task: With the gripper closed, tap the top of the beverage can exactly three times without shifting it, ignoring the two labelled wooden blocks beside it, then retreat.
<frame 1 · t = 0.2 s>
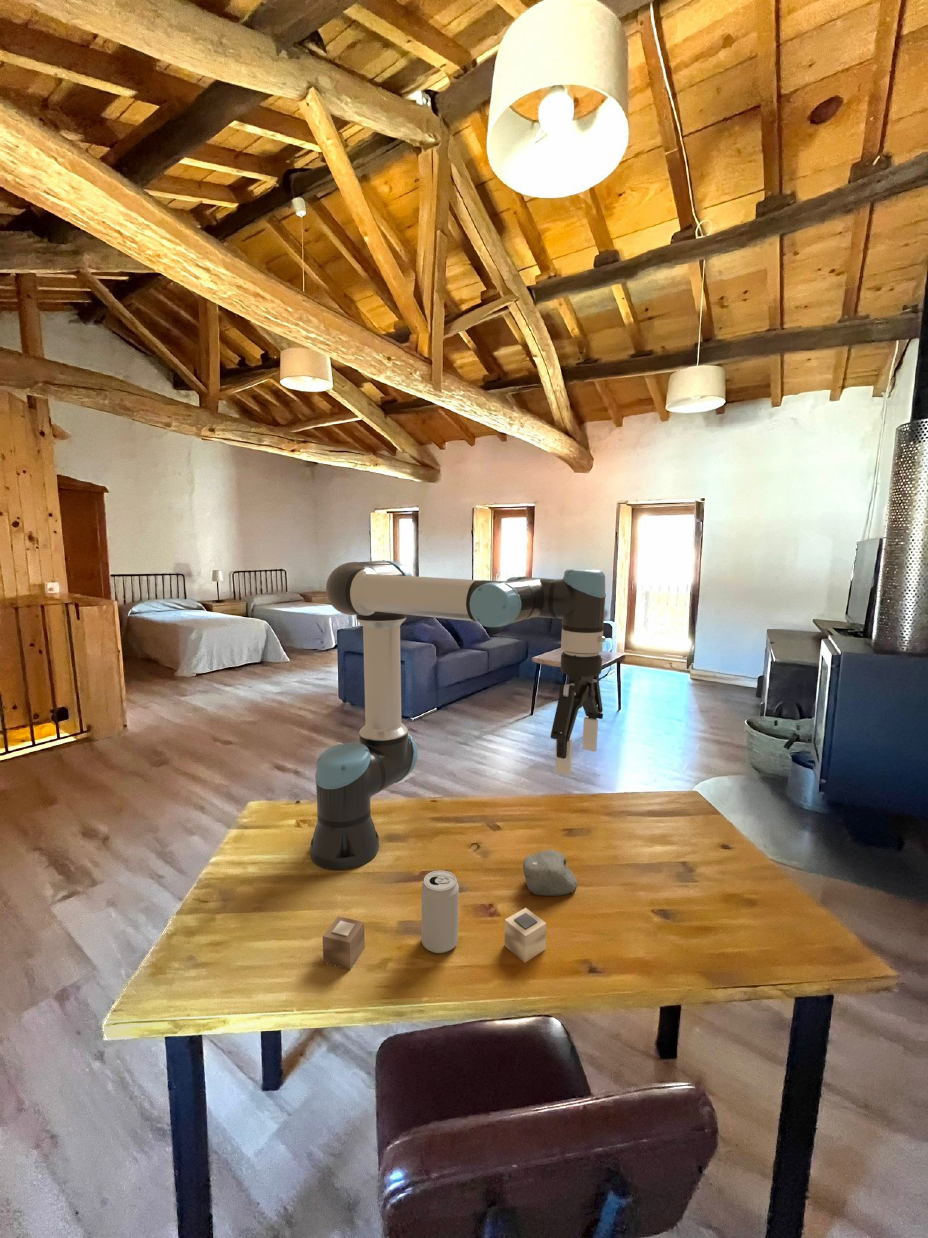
hand: (576, 761, 103), 28 cm above the table, fingers open, 13 cm apart
beverage can: (439, 944, 94), on the table
walnut block: (344, 956, 91), on the table
stone: (550, 887, 110), on the table
beech block: (524, 947, 93), on the table
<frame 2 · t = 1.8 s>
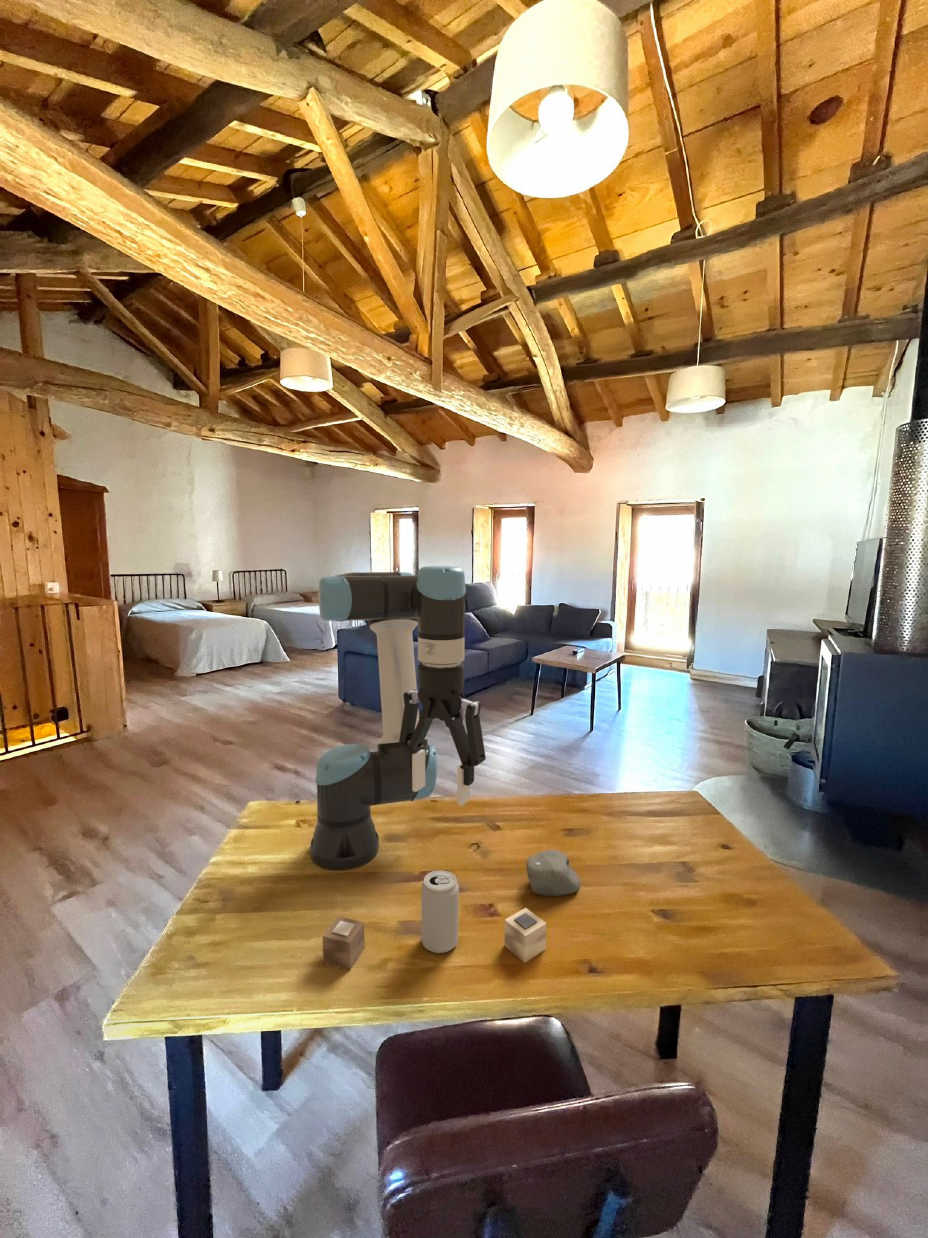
hand: (440, 795, 90), 27 cm above the table, fingers open, 8 cm apart
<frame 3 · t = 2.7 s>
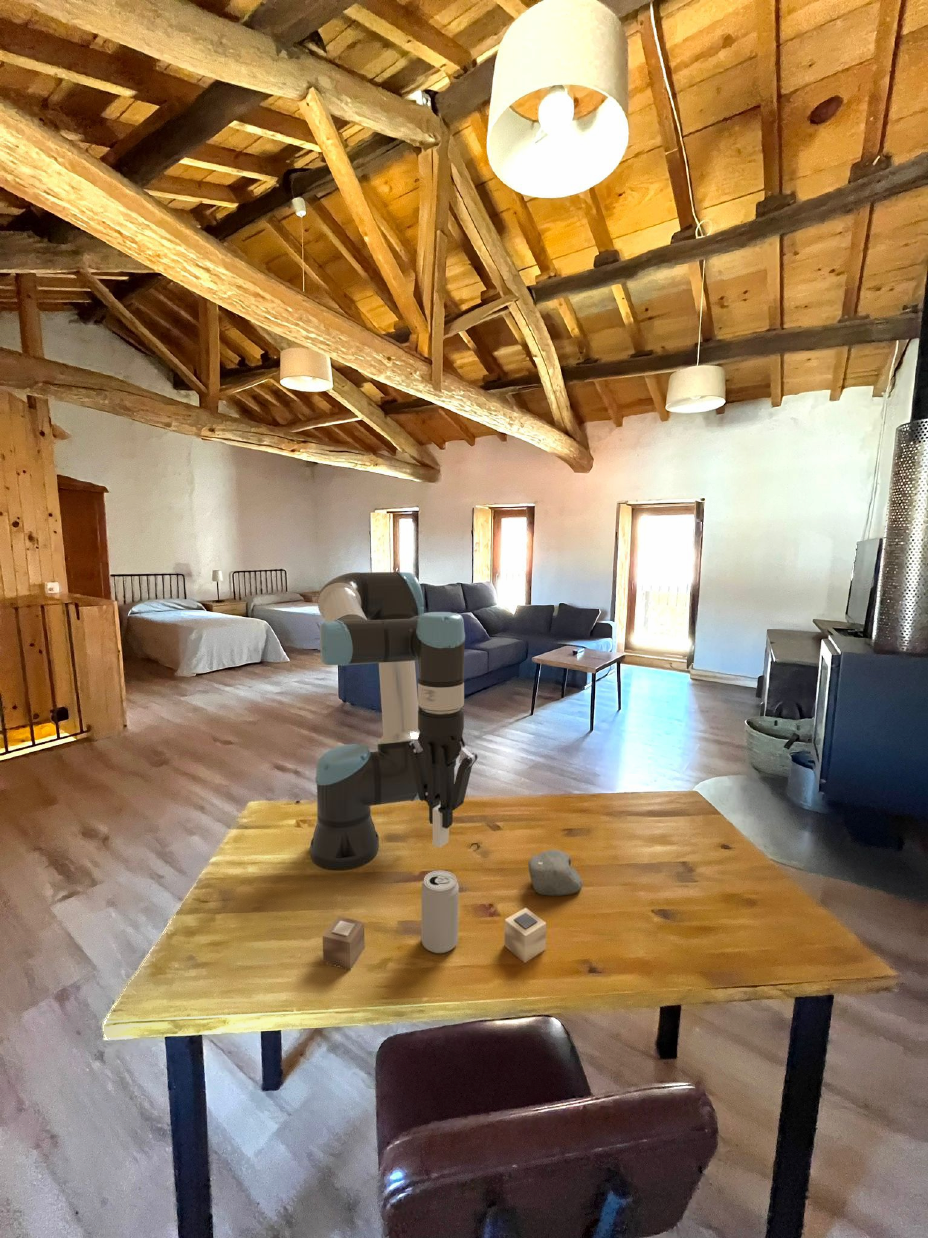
hand: (440, 843, 91), 19 cm above the table, fingers closed
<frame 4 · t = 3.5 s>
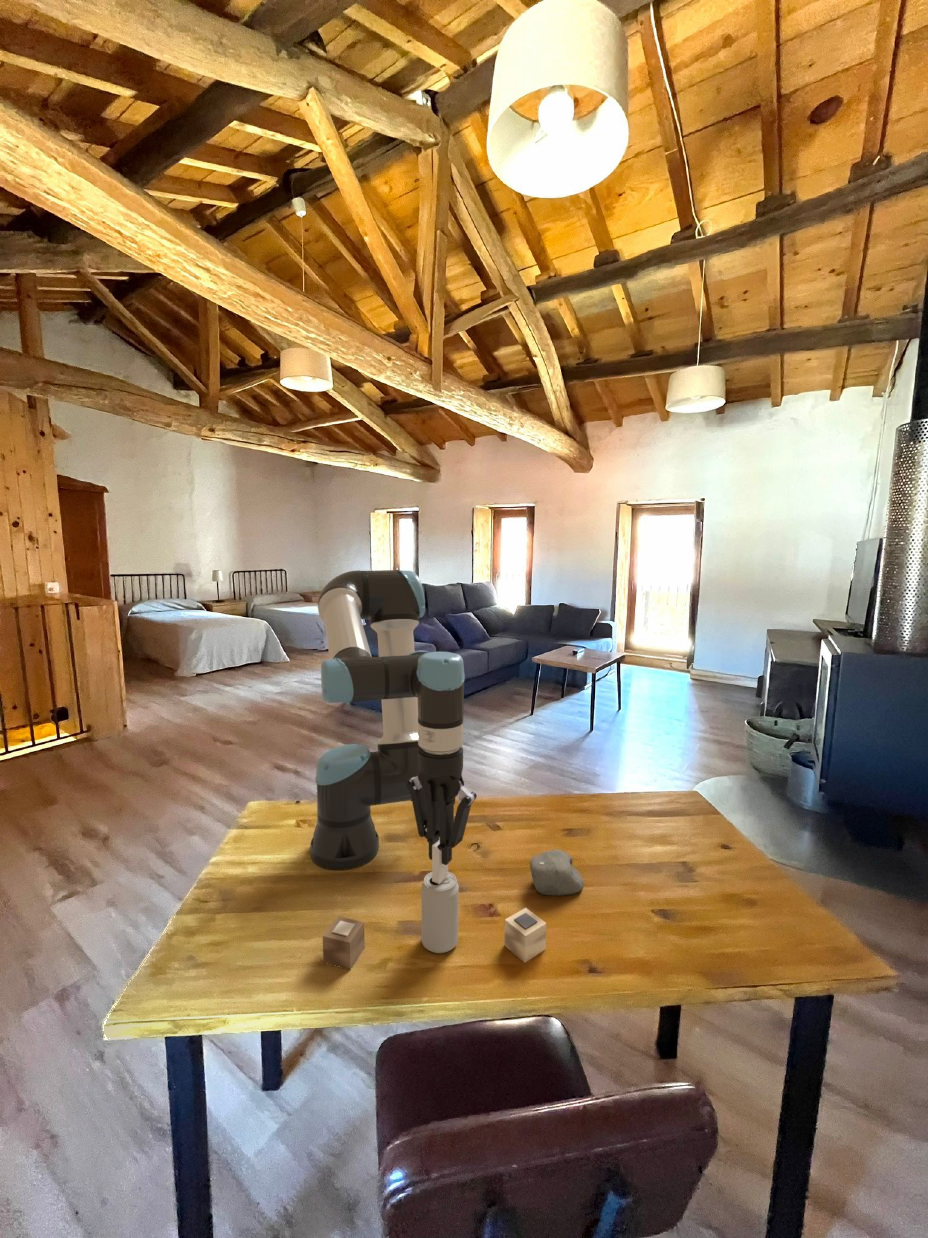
hand: (440, 878, 92), 12 cm above the table, fingers closed
beverage can: (439, 944, 94), on the table, touching gripper
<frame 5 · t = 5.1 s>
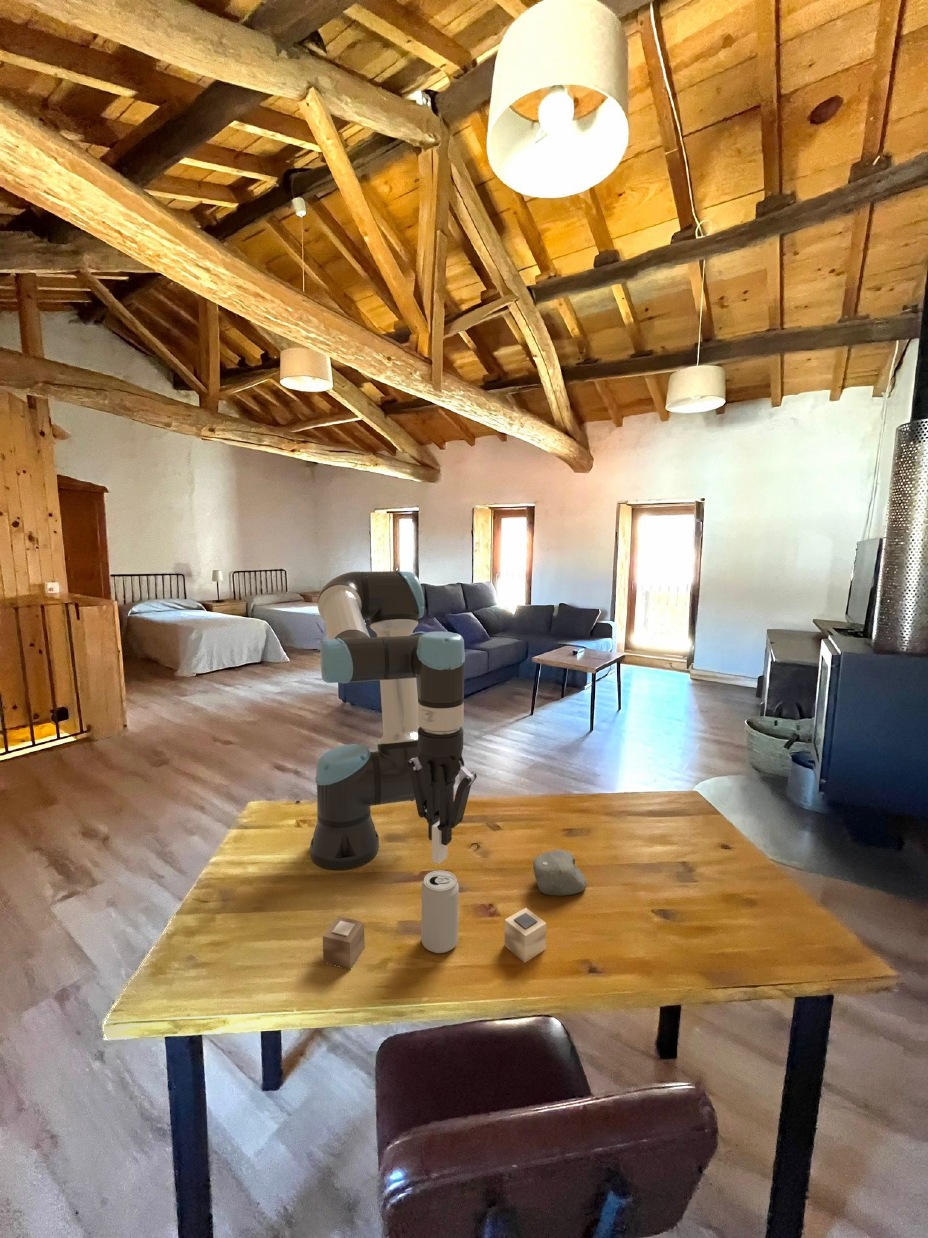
hand: (439, 859, 92), 16 cm above the table, fingers closed
beverage can: (439, 944, 94), on the table
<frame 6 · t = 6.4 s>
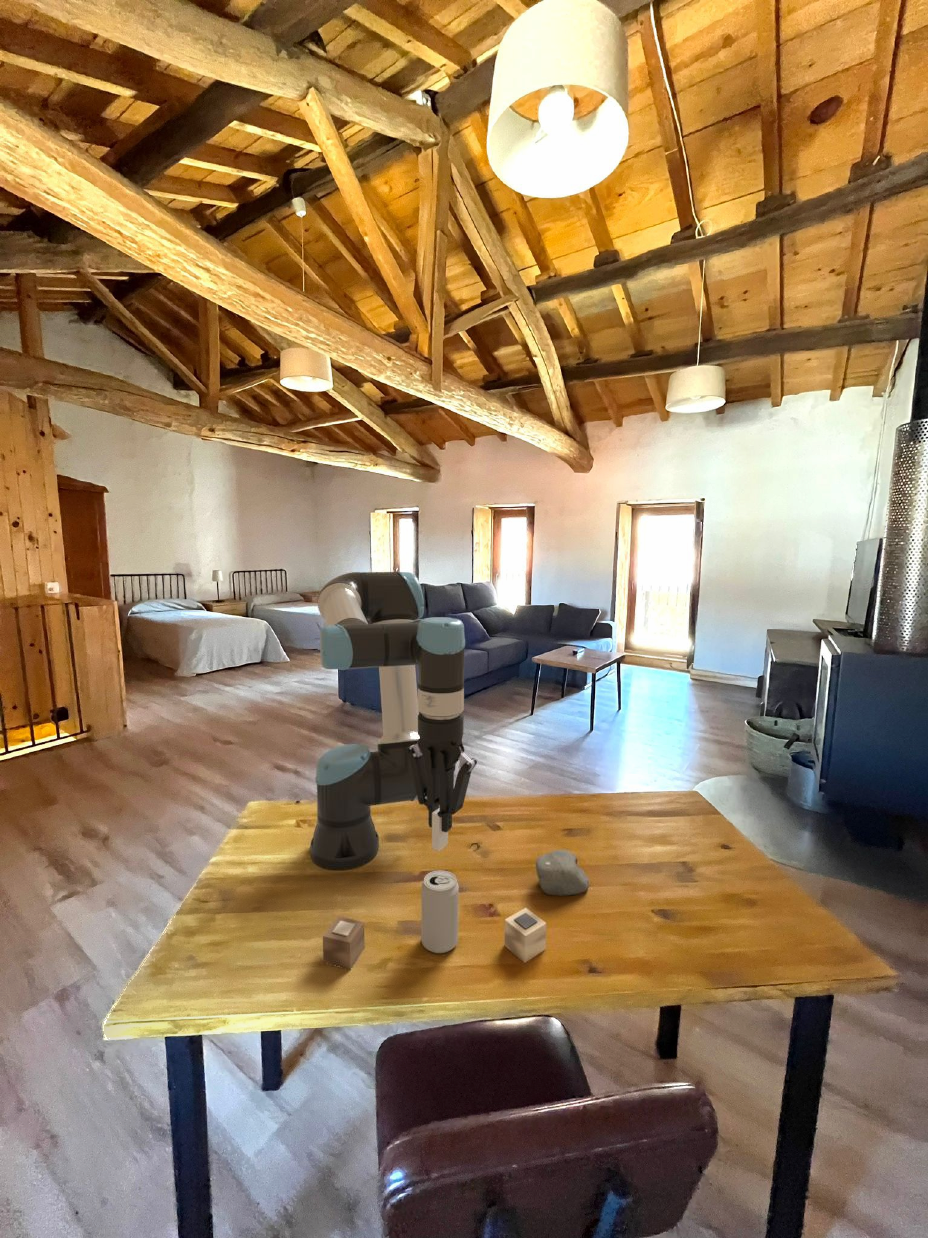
hand: (440, 846, 92), 18 cm above the table, fingers closed
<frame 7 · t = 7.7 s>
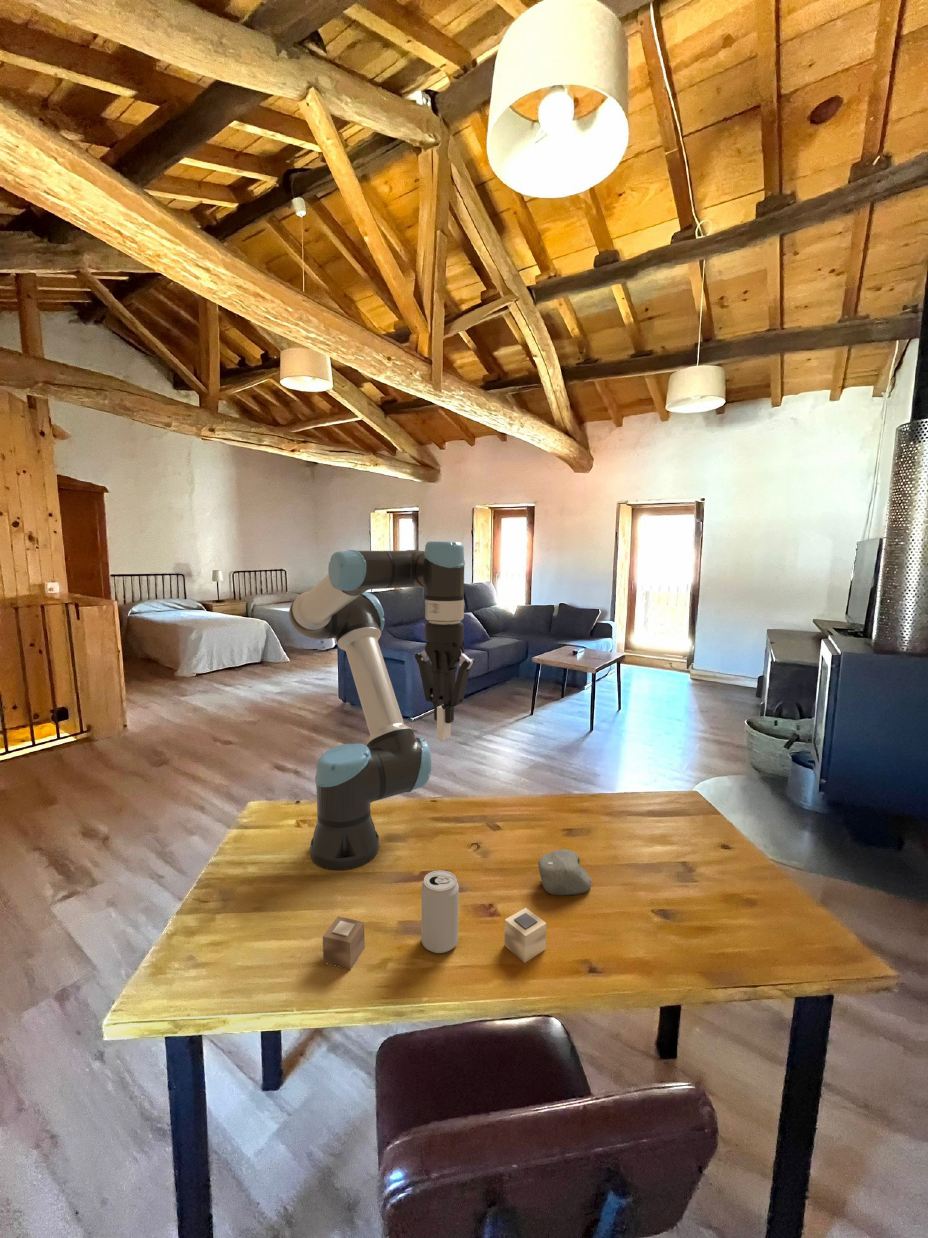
hand: (443, 737, 108), 30 cm above the table, fingers closed
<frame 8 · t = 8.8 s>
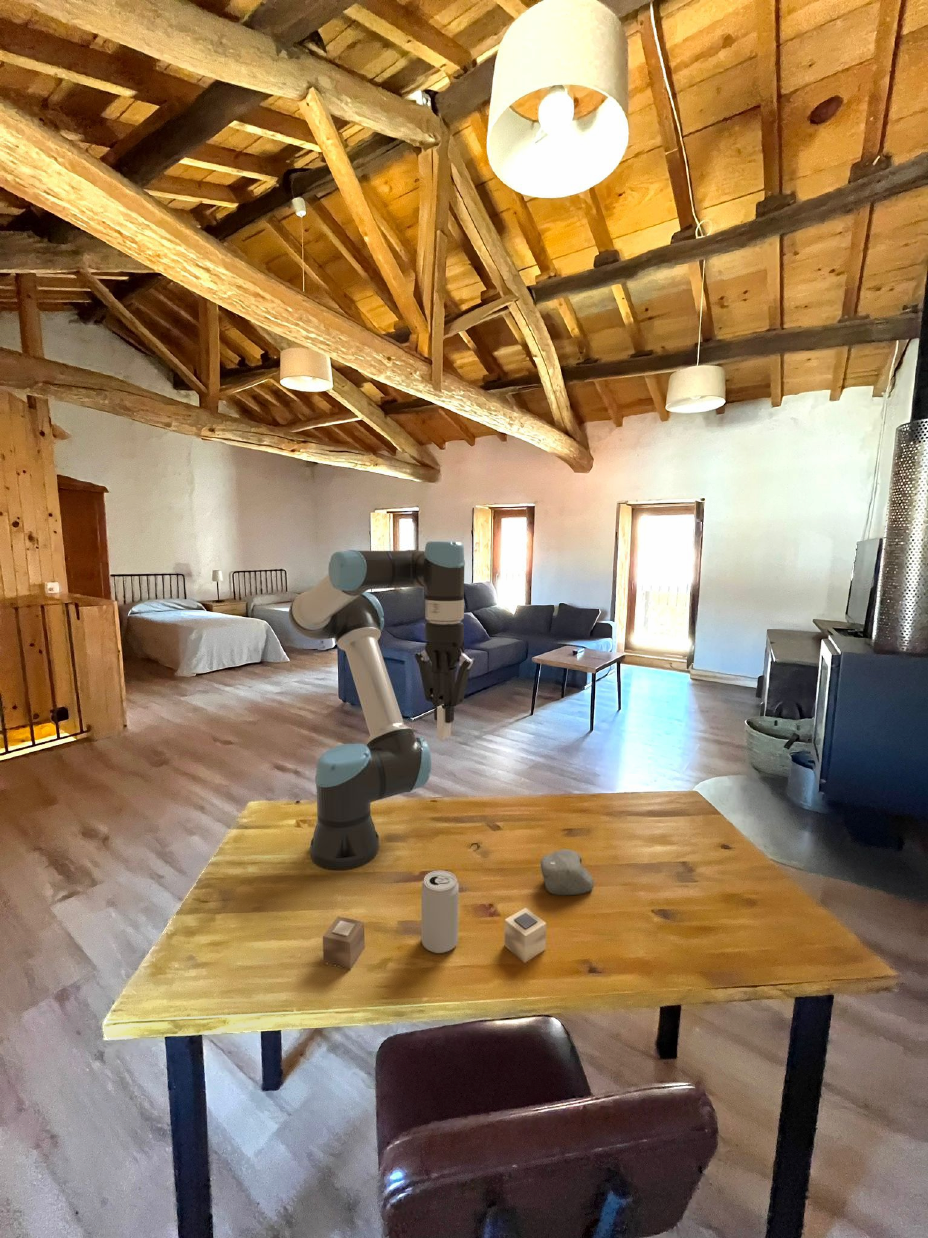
hand: (443, 737, 109), 30 cm above the table, fingers closed
at the end: beverage can moved 0.2 cm from its start; beverage can tilted 0°; beverage can touching table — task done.
